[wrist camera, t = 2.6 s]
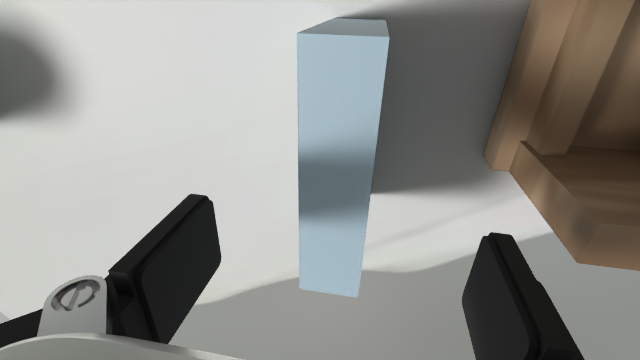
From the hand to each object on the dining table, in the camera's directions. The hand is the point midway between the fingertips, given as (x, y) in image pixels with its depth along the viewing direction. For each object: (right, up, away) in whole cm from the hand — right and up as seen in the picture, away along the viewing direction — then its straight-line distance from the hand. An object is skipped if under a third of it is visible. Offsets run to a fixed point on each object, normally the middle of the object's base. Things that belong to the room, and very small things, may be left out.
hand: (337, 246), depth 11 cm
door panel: (+2, +7, +11) cm, 13 cm away
